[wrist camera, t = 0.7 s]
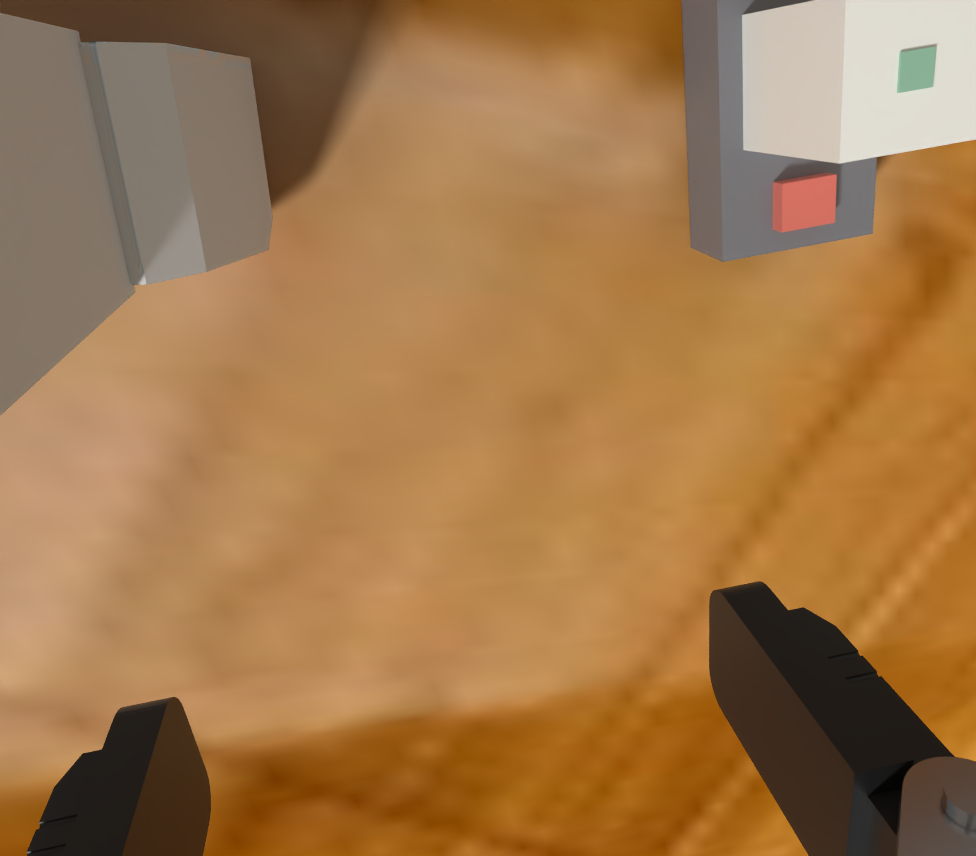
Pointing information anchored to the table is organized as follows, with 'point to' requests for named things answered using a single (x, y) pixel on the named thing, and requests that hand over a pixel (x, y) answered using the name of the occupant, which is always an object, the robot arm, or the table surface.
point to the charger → (858, 78)
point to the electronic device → (115, 181)
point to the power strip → (754, 155)
